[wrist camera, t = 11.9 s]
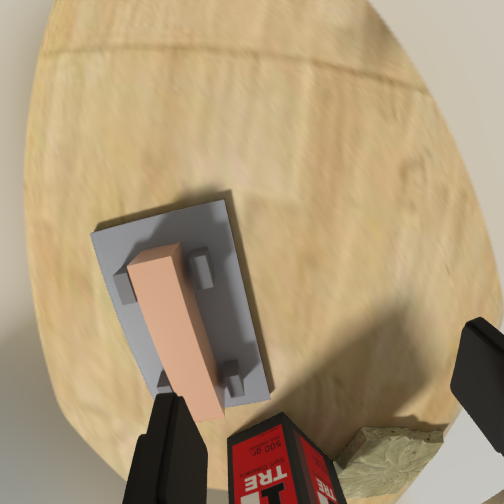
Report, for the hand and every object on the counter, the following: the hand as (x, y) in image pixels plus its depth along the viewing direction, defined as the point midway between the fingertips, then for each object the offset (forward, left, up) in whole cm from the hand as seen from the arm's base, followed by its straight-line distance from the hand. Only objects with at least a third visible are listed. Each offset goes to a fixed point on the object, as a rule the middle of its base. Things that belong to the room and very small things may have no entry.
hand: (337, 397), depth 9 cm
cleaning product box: (+33, -3, -24) cm, 40 cm away
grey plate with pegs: (+8, -10, -24) cm, 27 cm away
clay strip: (+8, -10, -23) cm, 26 cm away
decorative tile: (+44, +13, -24) cm, 52 cm away
